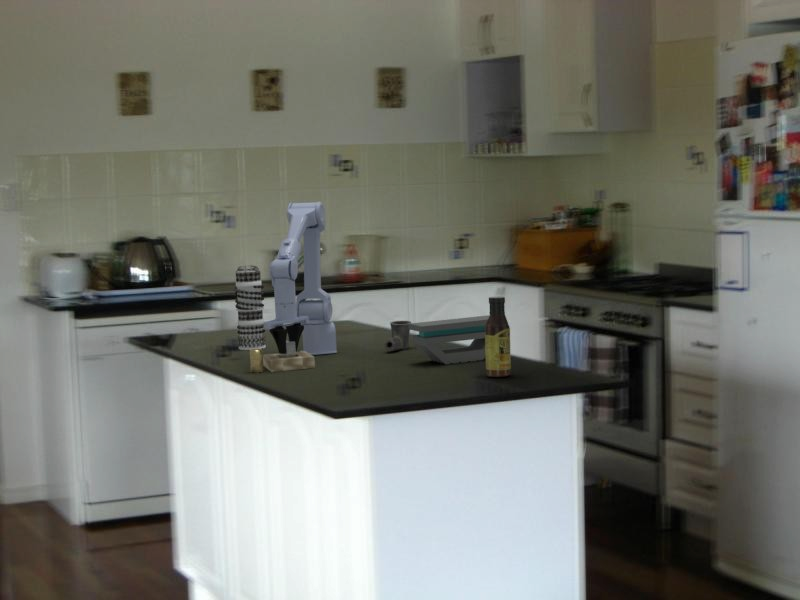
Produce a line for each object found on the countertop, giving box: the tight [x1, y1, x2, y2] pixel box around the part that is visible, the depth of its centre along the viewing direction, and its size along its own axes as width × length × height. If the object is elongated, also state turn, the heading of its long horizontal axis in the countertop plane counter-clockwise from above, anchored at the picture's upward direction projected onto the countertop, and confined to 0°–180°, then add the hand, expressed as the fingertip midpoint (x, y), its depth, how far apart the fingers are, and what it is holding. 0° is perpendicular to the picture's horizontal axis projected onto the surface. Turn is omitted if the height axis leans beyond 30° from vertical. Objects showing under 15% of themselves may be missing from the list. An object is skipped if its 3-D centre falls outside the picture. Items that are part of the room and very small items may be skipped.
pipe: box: [384, 320, 412, 352], centre depth 367 cm, size 6×13×8 cm, turn 158°
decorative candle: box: [233, 265, 267, 351], centre depth 384 cm, size 9×9×25 cm
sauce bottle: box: [485, 296, 512, 378], centre depth 316 cm, size 6×6×20 cm
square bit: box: [278, 339, 296, 358], centre depth 345 cm, size 3×3×7 cm
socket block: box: [262, 350, 316, 373], centre depth 345 cm, size 12×12×3 cm
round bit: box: [249, 349, 264, 374], centre depth 339 cm, size 3×3×6 cm
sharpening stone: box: [409, 314, 490, 365], centre depth 344 cm, size 25×8×11 cm, turn 115°
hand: (288, 352), depth 345 cm, fingers open, 3 cm apart
